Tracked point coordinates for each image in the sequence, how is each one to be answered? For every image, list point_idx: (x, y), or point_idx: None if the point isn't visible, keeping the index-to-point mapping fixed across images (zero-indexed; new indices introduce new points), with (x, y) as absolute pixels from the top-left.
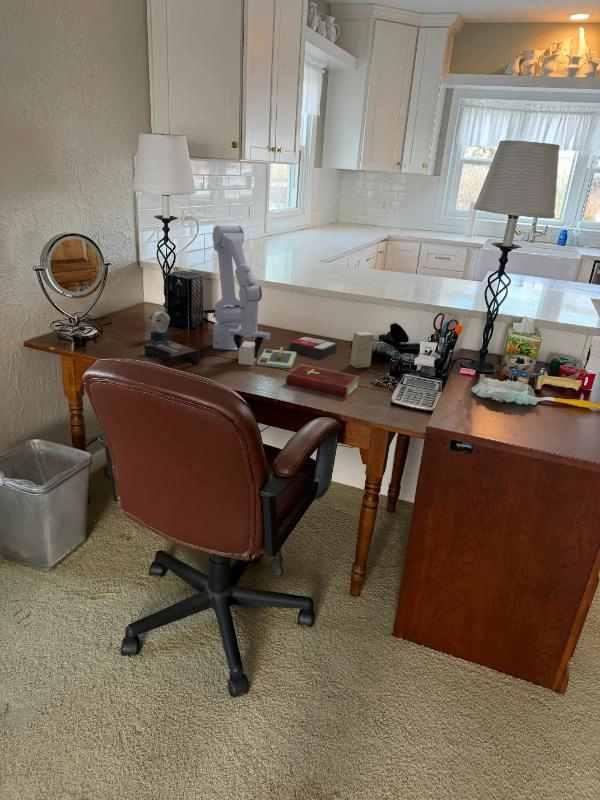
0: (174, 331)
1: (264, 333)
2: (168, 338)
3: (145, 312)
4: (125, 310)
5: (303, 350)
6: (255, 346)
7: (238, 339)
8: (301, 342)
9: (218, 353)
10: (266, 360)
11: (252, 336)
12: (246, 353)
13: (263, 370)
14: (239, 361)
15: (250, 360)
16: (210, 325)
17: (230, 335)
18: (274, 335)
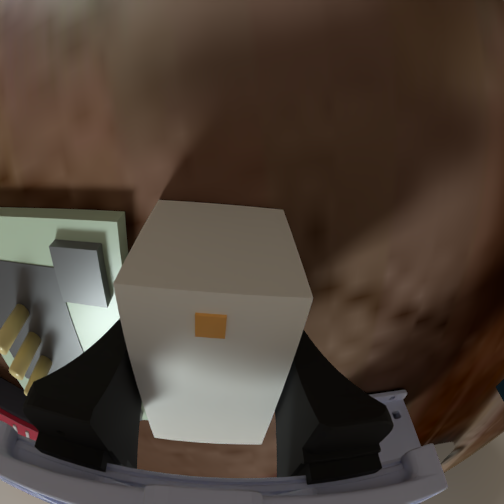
0: (456, 430)
1: (24, 488)
2: (501, 387)
3: (457, 458)
4: (480, 447)
5: (14, 397)
6: (113, 364)
7: (338, 427)
8: (32, 435)
9: (396, 350)
10: (52, 252)
11: (156, 482)
12: (206, 259)
13: (56, 104)
14: (277, 217)
15: (169, 218)
16: None
17: (414, 451)
18: None
